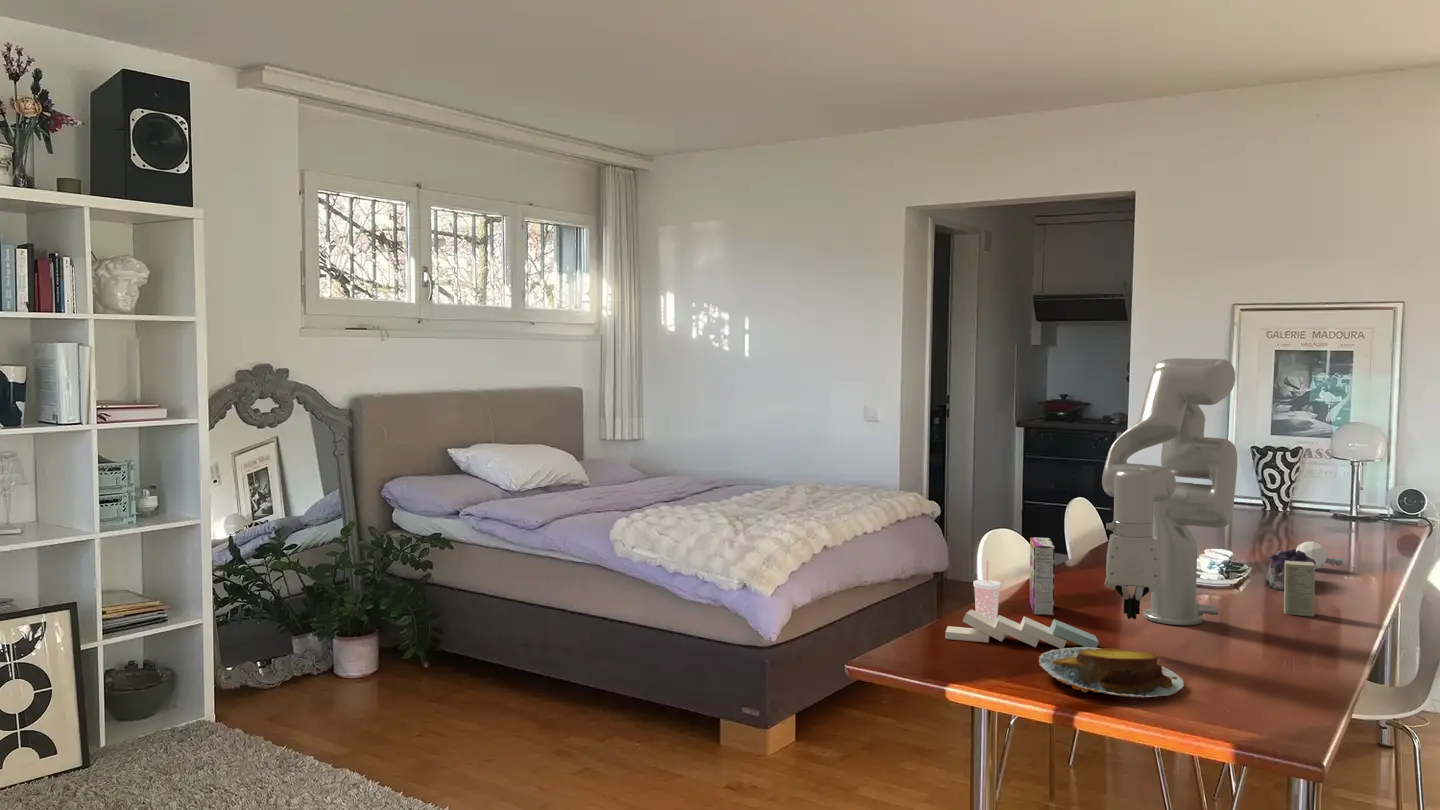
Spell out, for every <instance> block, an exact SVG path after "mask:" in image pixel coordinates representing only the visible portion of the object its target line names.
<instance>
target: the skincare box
mask: <svg viewBox="0 0 1440 810" xmlns="http://www.w3.org/2000/svg"><path fill="white" fill-rule="evenodd" d="M1315 579H1316V570H1315V564H1314V563H1313V562H1302V561H1286V560H1285V573H1284V591H1283V594H1284V595H1283V612H1284V614H1285V615H1293V616H1301V617H1302V616H1303V617H1315V598H1316V597H1315V596H1316V595H1315V588H1316V587H1315V585H1316V584H1315V583H1316V580H1315Z"/></svg>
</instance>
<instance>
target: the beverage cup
mask: <svg viewBox="0 0 1440 810" xmlns="http://www.w3.org/2000/svg"><path fill="white" fill-rule="evenodd" d="M985 568H986V569H985V573H986V575H985V579H976V580H973V581H972V582H973V587H974V602H975V603H974V604H975V605H974V607H975V611H976V612H978V613H980V614H982V615H984V616H986V617H988V618H989V619H991V620H993V621H995V622H996V621H997V618H998V614H999V613H998V612H999V603H1000V602H999V601H1000V600H999V598H1000V588H1002V586H1001V585H1002V583H1001V581H997V580H994V579H989V560H986V565H985Z"/></svg>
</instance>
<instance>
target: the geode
mask: <svg viewBox="0 0 1440 810" xmlns="http://www.w3.org/2000/svg"><path fill="white" fill-rule="evenodd" d="M1296 549H1297V548H1295V549H1289V550H1284V551H1283V550H1278V551H1276V552H1275V553H1274V554H1273V555H1271V556H1270V557H1269V559H1270V560H1269V561H1270V562H1269V565H1268V571H1267V573H1266V578H1265V583H1268V587H1269V589H1270V590H1271V589H1272V590H1275V591H1278V592H1284V573H1285V560H1286V561H1302V562H1313V563H1314V564H1315V565H1316V562H1315V561H1314V559H1311V558H1309V557H1307V556H1306V554H1305V553H1304V552H1301V551H1299V550H1298V551H1297V552H1296Z"/></svg>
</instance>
